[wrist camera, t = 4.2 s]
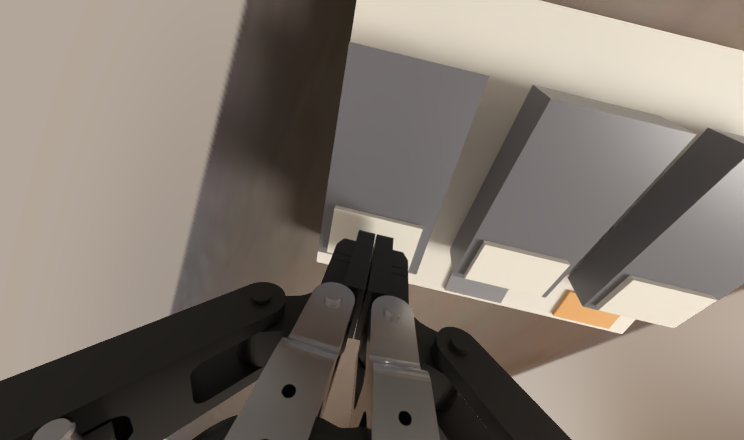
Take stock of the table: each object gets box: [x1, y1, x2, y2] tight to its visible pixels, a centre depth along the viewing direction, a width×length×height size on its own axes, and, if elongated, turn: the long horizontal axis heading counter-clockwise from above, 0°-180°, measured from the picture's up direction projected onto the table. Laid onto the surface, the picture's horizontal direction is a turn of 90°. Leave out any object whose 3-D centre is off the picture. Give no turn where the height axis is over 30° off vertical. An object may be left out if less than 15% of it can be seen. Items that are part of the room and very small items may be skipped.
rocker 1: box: [318, 42, 489, 274], centre depth 13 cm, size 9×5×2 cm, turn 168°
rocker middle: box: [450, 85, 697, 298], centre depth 13 cm, size 9×5×2 cm, turn 168°
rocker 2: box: [568, 128, 744, 328], centre depth 13 cm, size 9×5×2 cm, turn 168°
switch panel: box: [317, 0, 744, 334], centre depth 16 cm, size 15×20×4 cm
